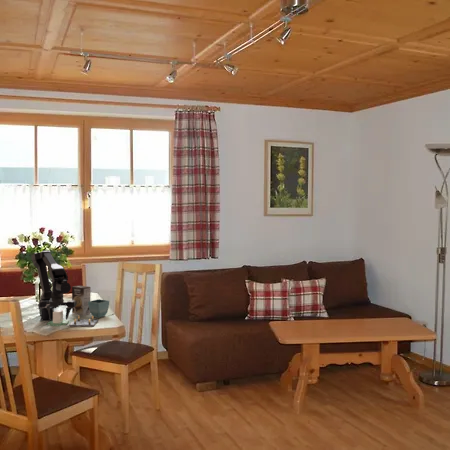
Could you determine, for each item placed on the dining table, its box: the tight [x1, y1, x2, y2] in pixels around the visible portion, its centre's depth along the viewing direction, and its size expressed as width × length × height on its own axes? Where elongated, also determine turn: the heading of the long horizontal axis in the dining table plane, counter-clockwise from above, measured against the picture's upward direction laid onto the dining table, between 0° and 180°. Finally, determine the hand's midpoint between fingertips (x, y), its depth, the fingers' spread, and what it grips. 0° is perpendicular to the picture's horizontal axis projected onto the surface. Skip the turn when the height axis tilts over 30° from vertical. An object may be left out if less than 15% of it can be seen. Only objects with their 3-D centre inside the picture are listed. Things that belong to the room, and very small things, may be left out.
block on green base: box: [46, 309, 70, 327], centre depth 299 cm, size 10×10×7 cm
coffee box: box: [71, 285, 91, 316], centre depth 326 cm, size 9×6×16 cm
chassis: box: [68, 315, 99, 328], centre depth 299 cm, size 13×13×4 cm
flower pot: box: [88, 298, 110, 318], centre depth 318 cm, size 9×9×9 cm
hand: (58, 319), depth 299 cm, fingers open, 9 cm apart
